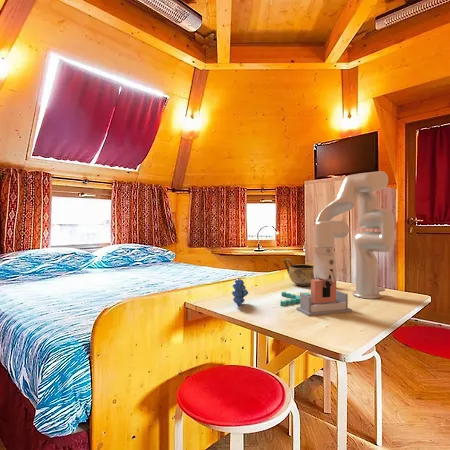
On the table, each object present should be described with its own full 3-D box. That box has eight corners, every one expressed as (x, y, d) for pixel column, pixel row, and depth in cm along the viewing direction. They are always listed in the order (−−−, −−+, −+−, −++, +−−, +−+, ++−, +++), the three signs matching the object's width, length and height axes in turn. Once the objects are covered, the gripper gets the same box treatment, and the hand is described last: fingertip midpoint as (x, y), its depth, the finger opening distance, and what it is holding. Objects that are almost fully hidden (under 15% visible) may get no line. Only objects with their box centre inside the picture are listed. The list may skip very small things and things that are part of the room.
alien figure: (280, 306, 137) (328, 309, 133) (280, 301, 137) (328, 304, 133) (281, 296, 157) (323, 298, 153) (281, 291, 157) (323, 293, 153)
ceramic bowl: (325, 284, 184) (325, 258, 184) (321, 289, 168) (321, 261, 168) (287, 281, 193) (287, 256, 193) (280, 286, 178) (280, 259, 178)
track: (337, 306, 137) (337, 289, 136) (351, 311, 128) (351, 294, 128) (296, 309, 131) (296, 293, 131) (308, 316, 122) (308, 298, 122)
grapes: (243, 310, 130) (243, 281, 130) (228, 308, 133) (228, 280, 133) (252, 303, 141) (252, 276, 141) (238, 301, 144) (238, 275, 144)
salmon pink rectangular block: (331, 299, 132) (331, 278, 132) (336, 301, 129) (336, 279, 129) (310, 301, 129) (310, 279, 129) (314, 303, 126) (315, 280, 126)
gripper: (344, 252, 122) (344, 300, 122) (320, 249, 138) (320, 291, 138) (328, 253, 120) (327, 301, 120) (305, 249, 136) (305, 292, 136)
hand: (323, 295), depth 129 cm, fingers closed on salmon pink rectangular block, 3 cm apart
